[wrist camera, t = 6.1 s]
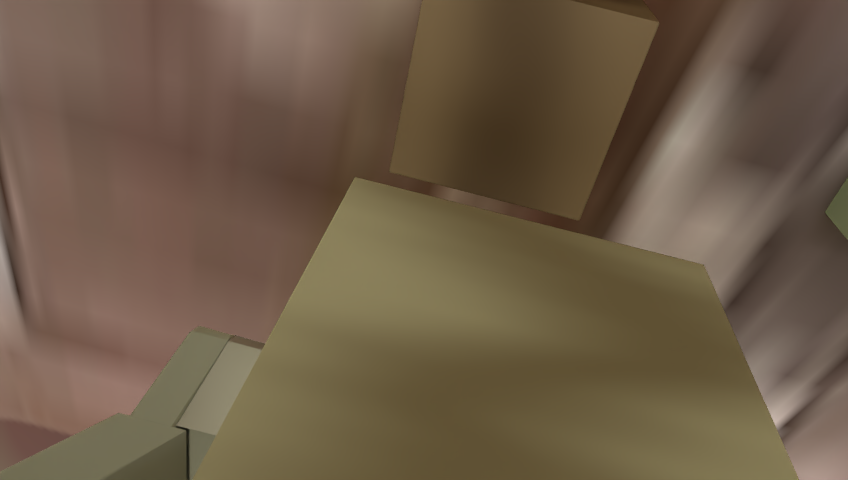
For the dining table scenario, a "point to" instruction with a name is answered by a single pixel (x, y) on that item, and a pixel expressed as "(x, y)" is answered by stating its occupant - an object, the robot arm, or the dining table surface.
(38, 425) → the dining table surface
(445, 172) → the brown square block
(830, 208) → the green cube
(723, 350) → the birch cube
